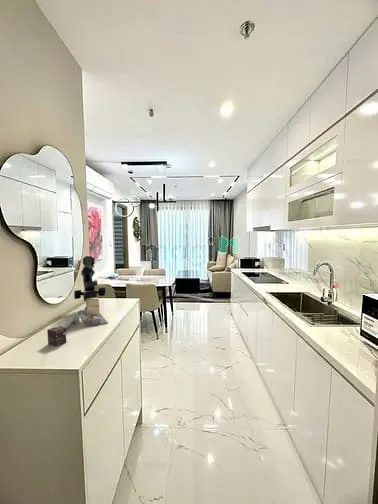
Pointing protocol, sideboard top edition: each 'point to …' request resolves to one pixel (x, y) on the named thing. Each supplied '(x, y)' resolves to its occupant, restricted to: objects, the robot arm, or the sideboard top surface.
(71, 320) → the grey flashlight
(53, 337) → the box
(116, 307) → the sideboard top surface
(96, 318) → the grey board
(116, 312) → the sideboard top surface
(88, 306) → the notched wooden block
